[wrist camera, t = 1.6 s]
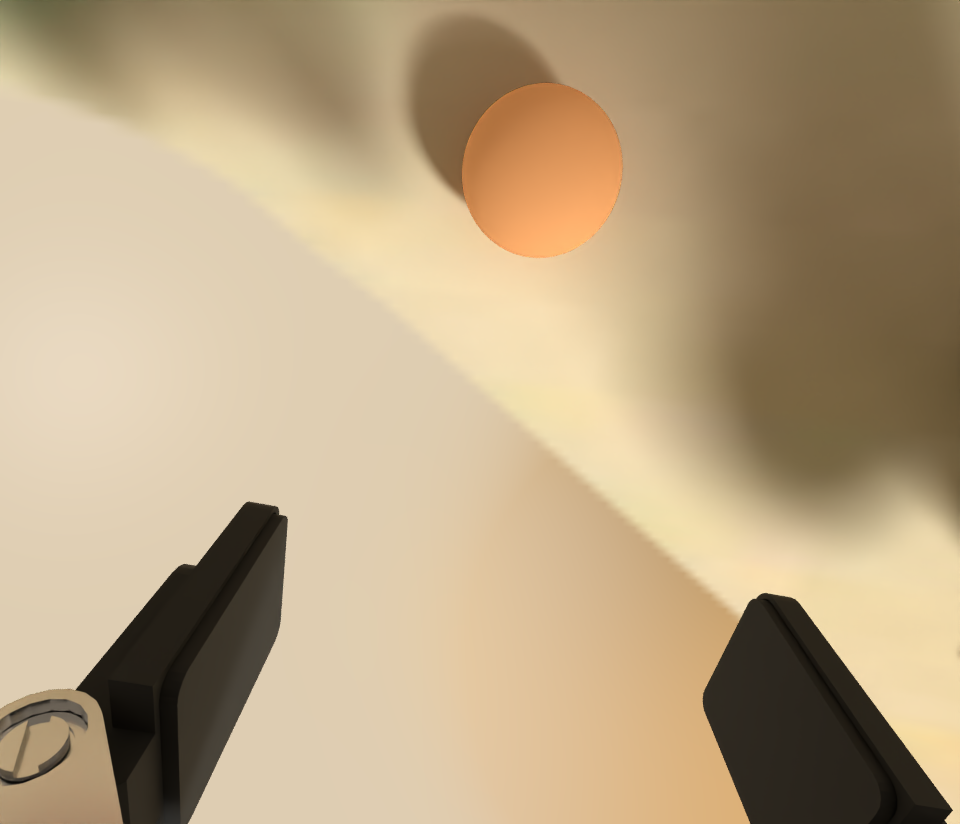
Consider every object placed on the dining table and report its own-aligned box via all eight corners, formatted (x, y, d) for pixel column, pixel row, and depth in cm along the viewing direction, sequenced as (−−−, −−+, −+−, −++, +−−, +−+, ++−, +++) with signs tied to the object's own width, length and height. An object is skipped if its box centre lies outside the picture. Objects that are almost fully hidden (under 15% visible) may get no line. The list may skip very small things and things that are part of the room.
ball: (586, 260, 24) (613, 281, 19) (456, 237, 24) (444, 251, 19) (622, 111, 22) (664, 85, 17) (478, 84, 22) (472, 48, 16)
